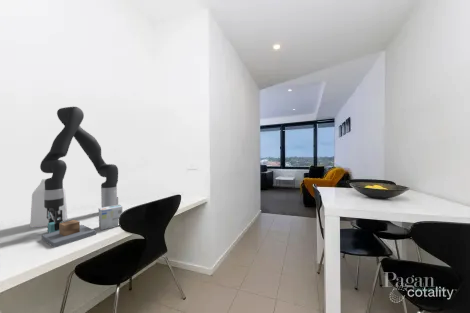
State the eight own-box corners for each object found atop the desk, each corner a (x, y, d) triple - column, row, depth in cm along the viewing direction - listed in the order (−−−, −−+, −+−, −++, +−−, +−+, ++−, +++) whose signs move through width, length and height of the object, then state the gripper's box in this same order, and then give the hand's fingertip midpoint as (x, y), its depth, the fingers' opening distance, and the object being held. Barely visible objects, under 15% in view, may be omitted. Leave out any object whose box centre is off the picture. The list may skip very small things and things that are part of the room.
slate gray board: (81, 228, 107) (81, 224, 107) (95, 234, 98) (95, 230, 98) (41, 239, 93) (41, 235, 93) (54, 247, 85) (54, 242, 85)
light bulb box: (120, 222, 116) (119, 204, 116) (123, 225, 111) (123, 206, 111) (98, 227, 109) (97, 207, 109) (100, 230, 104) (100, 210, 104)
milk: (67, 218, 123) (66, 177, 123) (56, 225, 112) (55, 179, 112) (44, 220, 120) (43, 178, 120) (30, 227, 109) (29, 180, 109)
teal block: (58, 228, 107) (58, 220, 107) (62, 230, 104) (62, 222, 104) (47, 231, 103) (47, 223, 103) (51, 233, 100) (50, 224, 100)
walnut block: (74, 229, 100) (74, 219, 100) (79, 231, 97) (79, 221, 97) (59, 233, 95) (59, 223, 95) (64, 236, 92) (64, 225, 92)
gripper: (68, 197, 103) (68, 228, 103) (58, 195, 110) (58, 223, 110) (49, 200, 96) (49, 233, 96) (40, 197, 104) (40, 228, 104)
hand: (54, 228), depth 103 cm, fingers open, 8 cm apart
